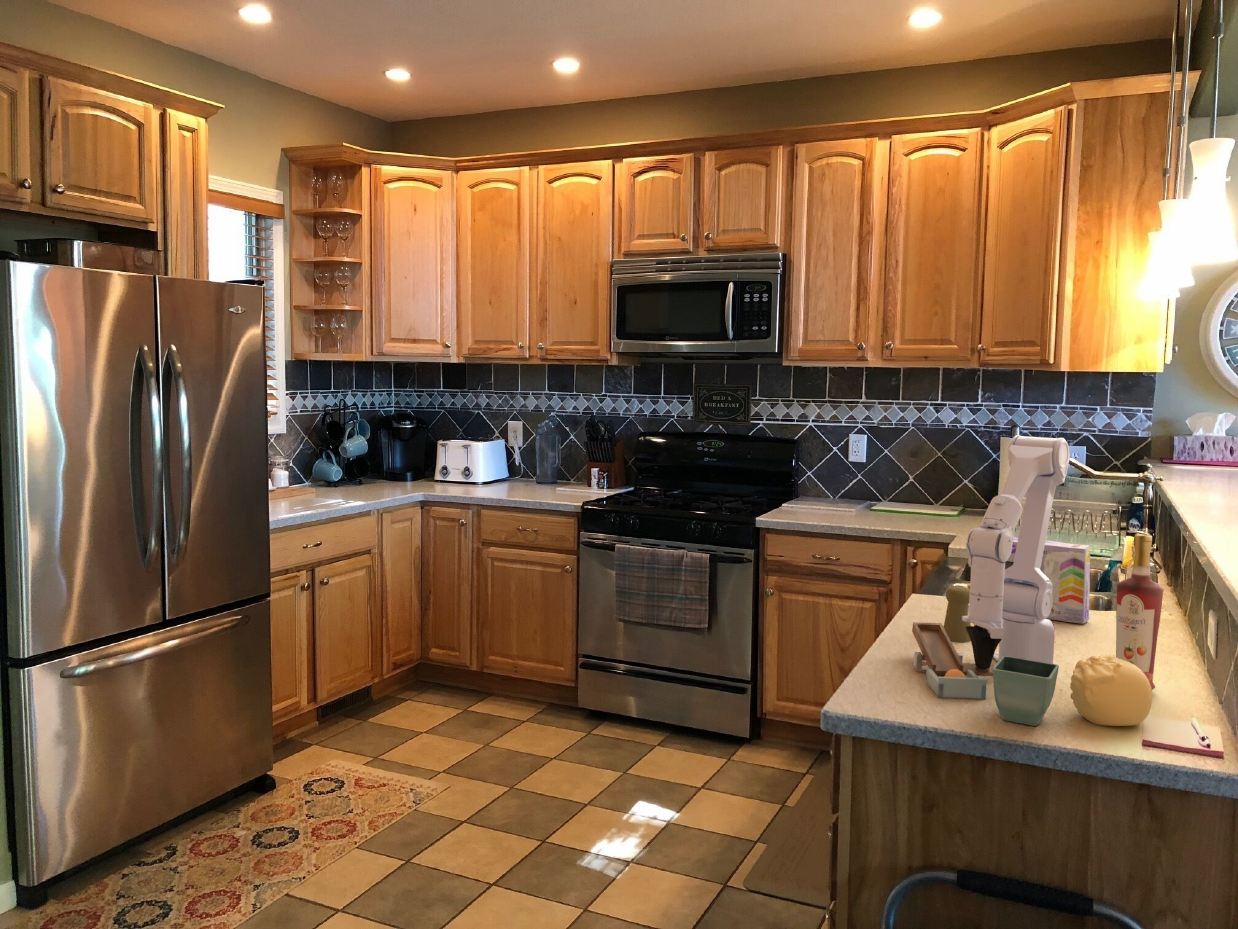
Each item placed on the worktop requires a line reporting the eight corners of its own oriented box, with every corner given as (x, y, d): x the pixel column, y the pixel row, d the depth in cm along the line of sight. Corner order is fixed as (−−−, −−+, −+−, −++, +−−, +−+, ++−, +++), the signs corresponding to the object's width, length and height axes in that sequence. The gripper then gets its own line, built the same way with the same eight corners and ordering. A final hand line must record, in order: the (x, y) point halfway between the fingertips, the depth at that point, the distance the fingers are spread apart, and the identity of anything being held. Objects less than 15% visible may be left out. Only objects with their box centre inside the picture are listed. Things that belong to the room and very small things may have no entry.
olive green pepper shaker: (940, 640, 208) (943, 588, 207) (942, 633, 214) (945, 582, 213) (971, 643, 206) (973, 591, 205) (972, 636, 212) (975, 585, 211)
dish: (970, 683, 180) (971, 664, 179) (985, 699, 171) (986, 679, 171) (926, 682, 180) (926, 663, 180) (938, 697, 172) (939, 678, 171)
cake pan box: (996, 611, 234) (1000, 537, 232) (1003, 608, 238) (1008, 535, 236) (1082, 626, 222) (1087, 548, 220) (1089, 622, 225) (1094, 545, 224)
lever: (969, 636, 196) (971, 624, 195) (994, 681, 180) (996, 667, 180) (910, 635, 197) (912, 622, 196) (930, 678, 181) (932, 665, 180)
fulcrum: (958, 669, 188) (959, 652, 188) (962, 673, 186) (963, 656, 185) (913, 667, 189) (914, 651, 188) (916, 671, 186) (917, 655, 186)
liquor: (1162, 692, 177) (1173, 536, 174) (1146, 700, 172) (1157, 540, 169) (1120, 681, 182) (1130, 530, 179) (1103, 689, 177) (1113, 534, 175)
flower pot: (1047, 734, 155) (1050, 678, 155) (988, 722, 160) (991, 668, 159) (1056, 717, 163) (1059, 664, 162) (999, 707, 168) (1002, 655, 167)
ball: (968, 689, 174) (962, 689, 177) (967, 669, 174) (961, 669, 178) (947, 689, 174) (942, 688, 177) (947, 668, 175) (941, 668, 178)
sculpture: (1063, 705, 169) (1067, 643, 168) (1141, 713, 165) (1146, 650, 164) (1073, 728, 158) (1077, 662, 157) (1157, 737, 155) (1162, 670, 153)
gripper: (952, 584, 187) (949, 655, 188) (976, 602, 173) (972, 678, 174) (991, 585, 187) (987, 656, 188) (1017, 603, 172) (1013, 680, 174)
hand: (982, 667), depth 181 cm, fingers closed
